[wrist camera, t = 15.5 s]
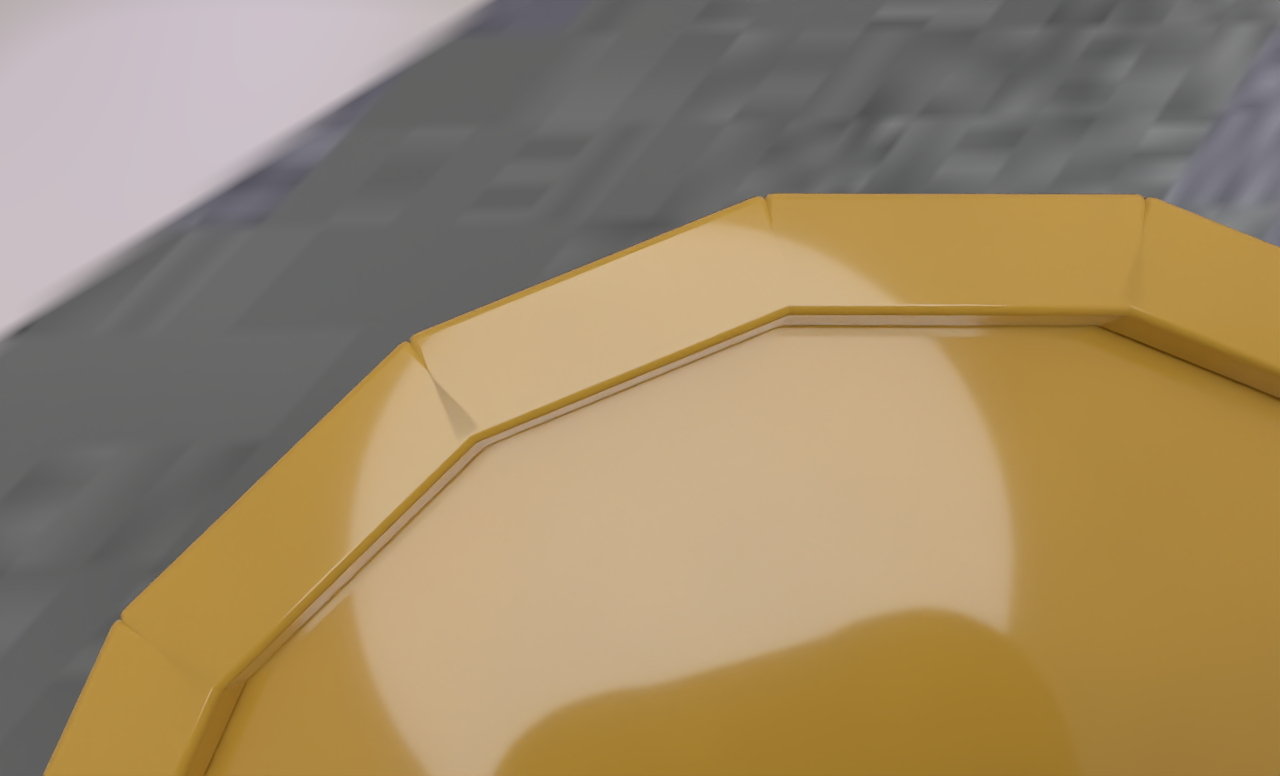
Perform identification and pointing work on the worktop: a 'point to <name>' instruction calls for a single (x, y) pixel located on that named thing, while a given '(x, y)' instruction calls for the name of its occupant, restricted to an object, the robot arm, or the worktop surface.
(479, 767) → the tall tapered cup
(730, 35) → the worktop surface
